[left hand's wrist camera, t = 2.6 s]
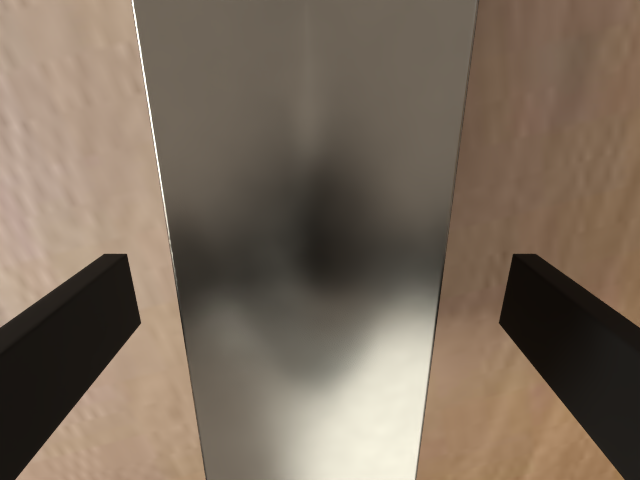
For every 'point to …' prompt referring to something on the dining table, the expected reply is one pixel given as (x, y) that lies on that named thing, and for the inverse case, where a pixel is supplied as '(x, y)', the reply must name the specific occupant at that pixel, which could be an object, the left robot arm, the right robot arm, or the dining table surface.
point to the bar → (307, 220)
